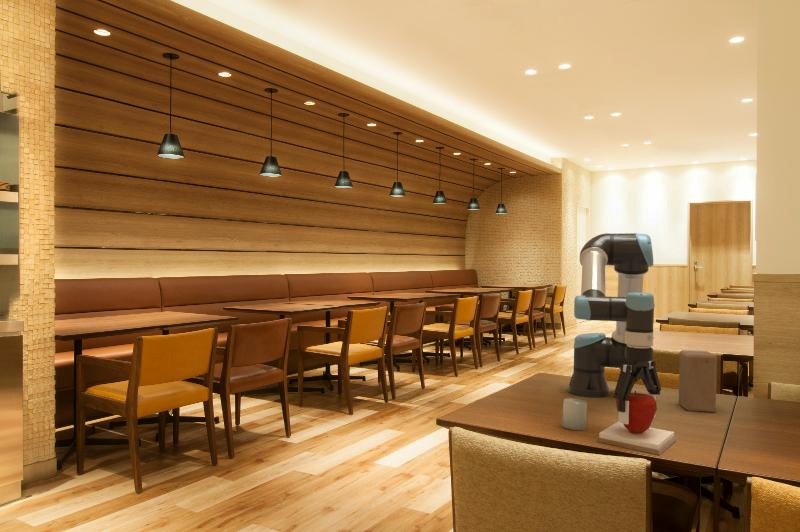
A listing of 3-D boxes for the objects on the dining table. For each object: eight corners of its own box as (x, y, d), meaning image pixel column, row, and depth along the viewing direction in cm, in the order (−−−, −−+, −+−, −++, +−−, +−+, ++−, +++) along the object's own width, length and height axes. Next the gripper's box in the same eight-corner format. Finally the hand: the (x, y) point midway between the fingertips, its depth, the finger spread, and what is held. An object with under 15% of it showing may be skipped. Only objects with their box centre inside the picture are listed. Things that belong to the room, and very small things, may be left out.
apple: (636, 439, 161) (636, 395, 161) (608, 429, 171) (607, 388, 171) (665, 434, 165) (665, 392, 166) (636, 425, 175) (636, 385, 175)
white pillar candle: (558, 426, 181) (559, 400, 181) (568, 421, 186) (569, 397, 186) (579, 431, 176) (581, 405, 176) (589, 427, 182) (590, 401, 181)
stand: (596, 441, 167) (596, 433, 167) (617, 428, 180) (617, 420, 180) (659, 455, 156) (659, 445, 156) (676, 440, 169) (676, 431, 169)
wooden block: (716, 413, 201) (718, 355, 201) (685, 411, 203) (686, 353, 203) (707, 405, 211) (708, 350, 211) (677, 404, 213) (679, 349, 213)
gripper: (625, 351, 158) (623, 429, 158) (674, 344, 172) (673, 416, 172) (601, 347, 164) (599, 422, 164) (651, 341, 178) (649, 410, 179)
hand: (637, 419), depth 168 cm, fingers open, 13 cm apart
